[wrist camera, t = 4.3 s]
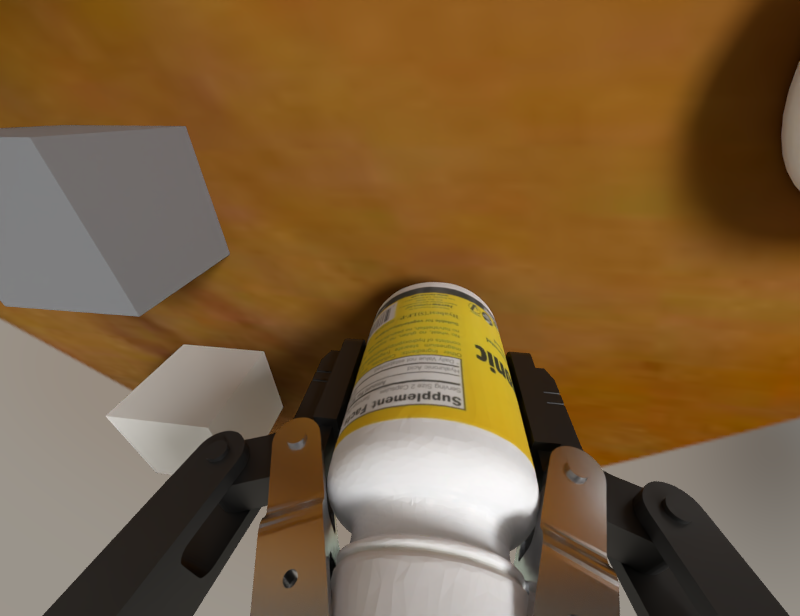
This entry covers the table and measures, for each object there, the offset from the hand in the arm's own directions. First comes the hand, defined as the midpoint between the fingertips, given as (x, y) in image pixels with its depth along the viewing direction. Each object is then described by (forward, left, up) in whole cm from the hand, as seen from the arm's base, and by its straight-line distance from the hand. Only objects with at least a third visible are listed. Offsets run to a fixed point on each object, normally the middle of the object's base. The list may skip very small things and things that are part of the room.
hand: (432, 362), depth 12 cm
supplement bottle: (0, 0, -2) cm, 2 cm away
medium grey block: (-5, -12, -3) cm, 13 cm away
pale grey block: (+6, -12, -3) cm, 14 cm away
